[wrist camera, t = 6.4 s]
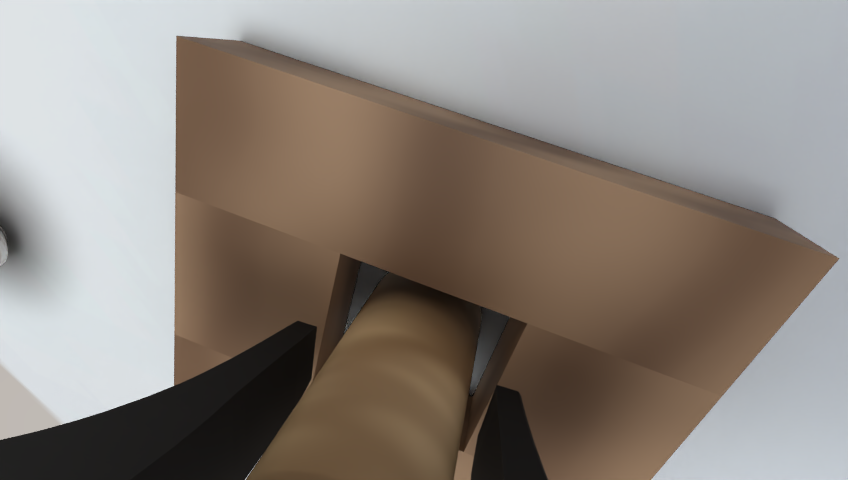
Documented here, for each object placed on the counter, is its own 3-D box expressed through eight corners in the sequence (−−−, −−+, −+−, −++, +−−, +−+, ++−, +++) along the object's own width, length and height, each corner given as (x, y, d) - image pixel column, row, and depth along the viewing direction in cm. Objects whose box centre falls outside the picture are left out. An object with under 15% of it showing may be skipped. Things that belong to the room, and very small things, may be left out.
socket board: (775, 218, 11) (839, 258, 9) (558, 514, 17) (563, 581, 15) (239, 40, 12) (176, 35, 10) (216, 372, 19) (173, 415, 16)
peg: (493, 279, 14) (455, 518, 6) (468, 371, 15) (417, 641, 8) (378, 251, 14) (227, 441, 7) (367, 342, 16) (236, 571, 9)
